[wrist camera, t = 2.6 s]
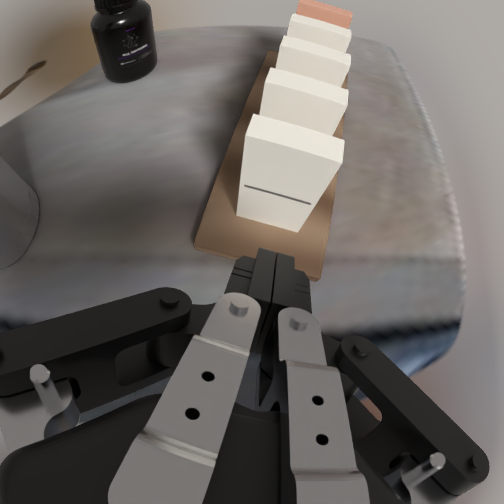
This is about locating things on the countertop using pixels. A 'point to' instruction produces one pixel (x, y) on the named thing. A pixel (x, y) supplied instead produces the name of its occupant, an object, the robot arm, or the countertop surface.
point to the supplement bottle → (124, 39)
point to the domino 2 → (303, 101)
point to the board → (253, 232)
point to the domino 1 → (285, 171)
